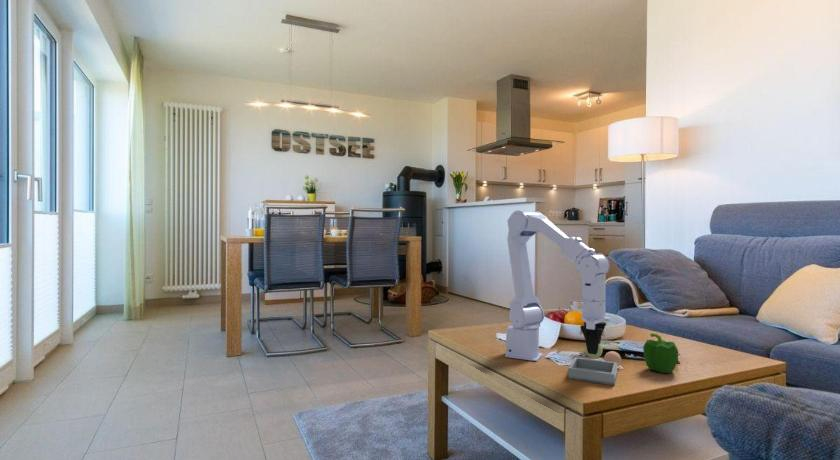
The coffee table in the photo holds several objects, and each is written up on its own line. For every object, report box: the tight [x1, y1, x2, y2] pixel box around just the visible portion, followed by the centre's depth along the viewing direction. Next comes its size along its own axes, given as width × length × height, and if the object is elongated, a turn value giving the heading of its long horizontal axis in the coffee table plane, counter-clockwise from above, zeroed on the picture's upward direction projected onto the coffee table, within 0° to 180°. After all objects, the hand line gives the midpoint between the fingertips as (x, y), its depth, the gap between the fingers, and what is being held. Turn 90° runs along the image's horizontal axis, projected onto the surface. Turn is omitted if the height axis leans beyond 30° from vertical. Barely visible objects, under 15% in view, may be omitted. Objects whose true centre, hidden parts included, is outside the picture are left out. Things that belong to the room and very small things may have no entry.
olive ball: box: [584, 343, 604, 359], centre depth 119 cm, size 4×4×4 cm
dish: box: [567, 356, 618, 386], centre depth 119 cm, size 11×11×3 cm
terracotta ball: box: [603, 350, 622, 368], centre depth 127 cm, size 4×4×4 cm
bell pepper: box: [642, 332, 679, 374], centre depth 124 cm, size 8×8×10 cm
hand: (593, 351), depth 119 cm, fingers closed on olive ball, 4 cm apart
